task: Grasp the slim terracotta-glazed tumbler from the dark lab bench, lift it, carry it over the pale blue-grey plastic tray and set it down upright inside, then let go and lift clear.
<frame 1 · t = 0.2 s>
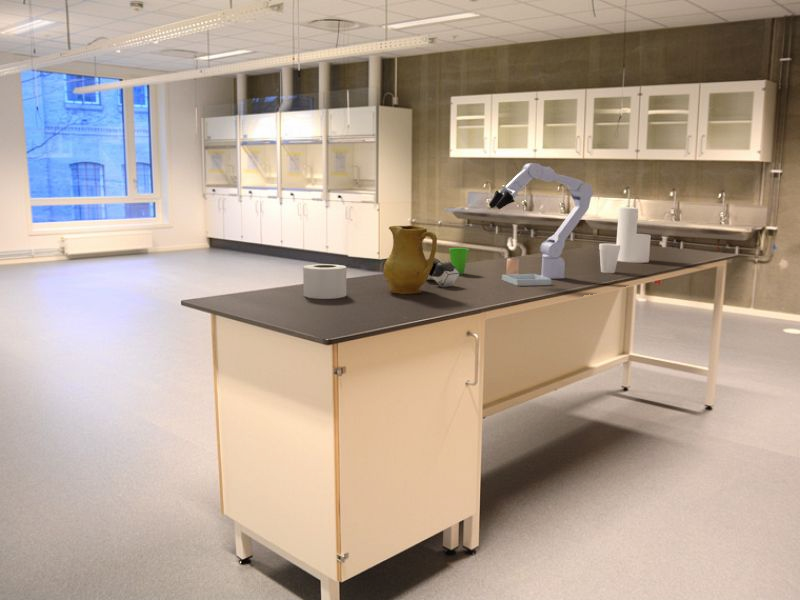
hand: (493, 207, 310), 31 cm above the worktop, tool tilted 45°, fingers open, 7 cm apart
cup: (458, 273, 330), on the worktop
foam cup: (607, 272, 345), on the worktop
pitcher: (407, 292, 277), on the worktop
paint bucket: (438, 283, 301), on the worktop
tray: (525, 282, 307), on the worktop
tumbler: (512, 277, 322), on the worktop
white toilet paper roll: (324, 296, 266), on the worktop
white l-shaped piece: (631, 260, 394), on the worktop
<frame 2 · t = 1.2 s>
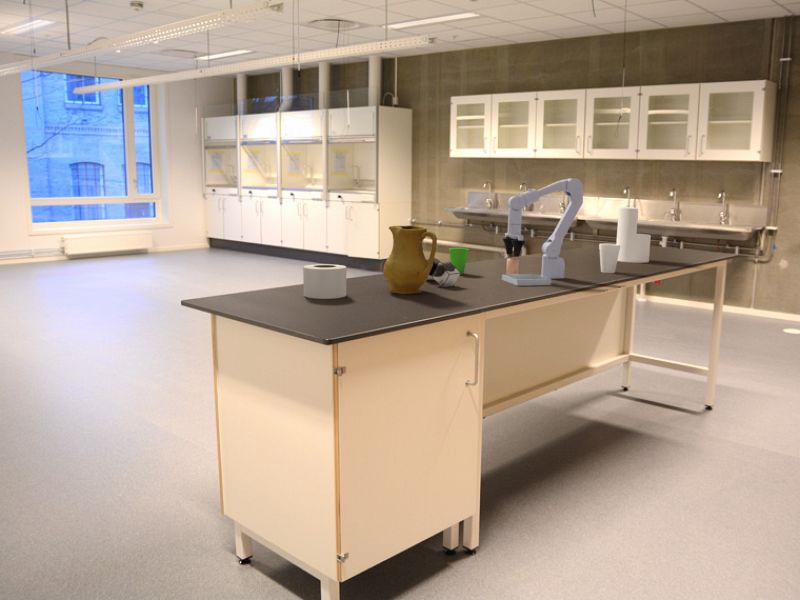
hand: (512, 255, 321), 9 cm above the worktop, tool pointing down, fingers open, 7 cm apart
nothing on the worktop moved.
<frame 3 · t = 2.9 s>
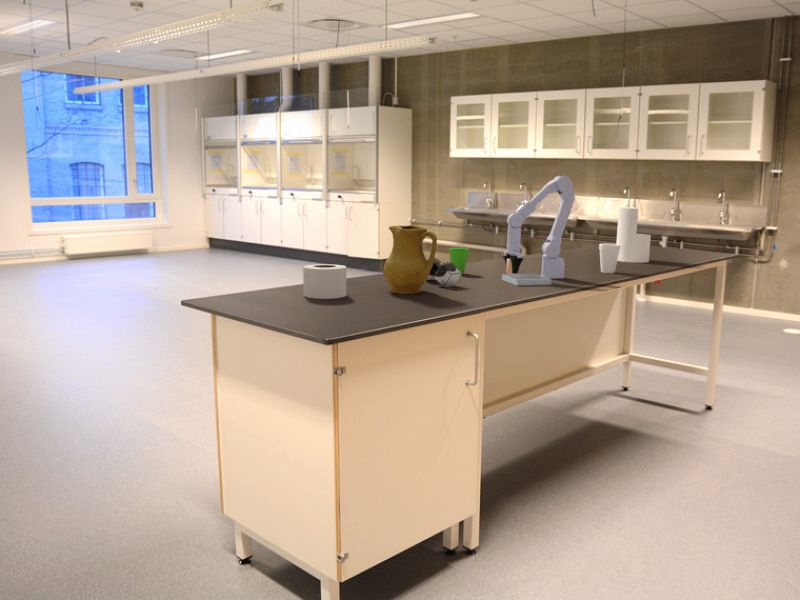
hand: (512, 272, 322), 2 cm above the worktop, tool pointing down, fingers closed on tumbler, 5 cm apart
tumbler: (512, 277, 322), on the worktop, touching gripper
everything else where it was.
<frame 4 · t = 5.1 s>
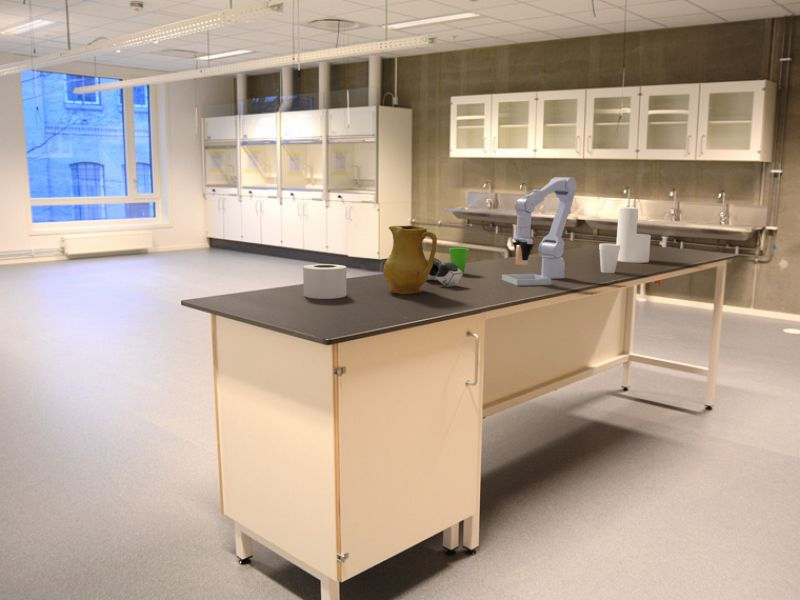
hand: (522, 259, 310), 9 cm above the worktop, tool pointing down, fingers closed on tumbler, 5 cm apart
tumbler: (521, 264, 311), point 7 cm above the worktop, touching gripper
when the fingers open (4 cm above the worktop, at t = 7.5 s): tumbler drops 2 cm, resting on tray.
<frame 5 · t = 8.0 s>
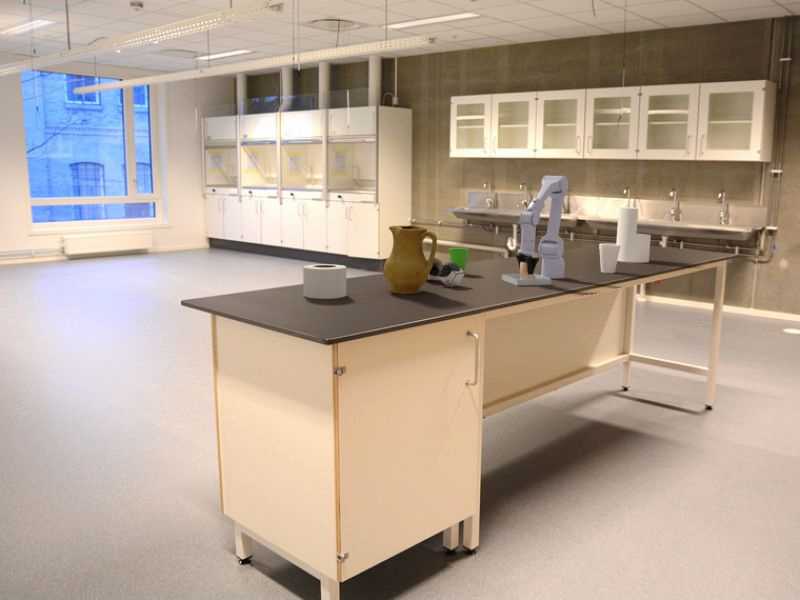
hand: (526, 273, 306), 4 cm above the worktop, tool pointing down, fingers open, 7 cm apart
tumbler: (525, 281, 307), resting on tray
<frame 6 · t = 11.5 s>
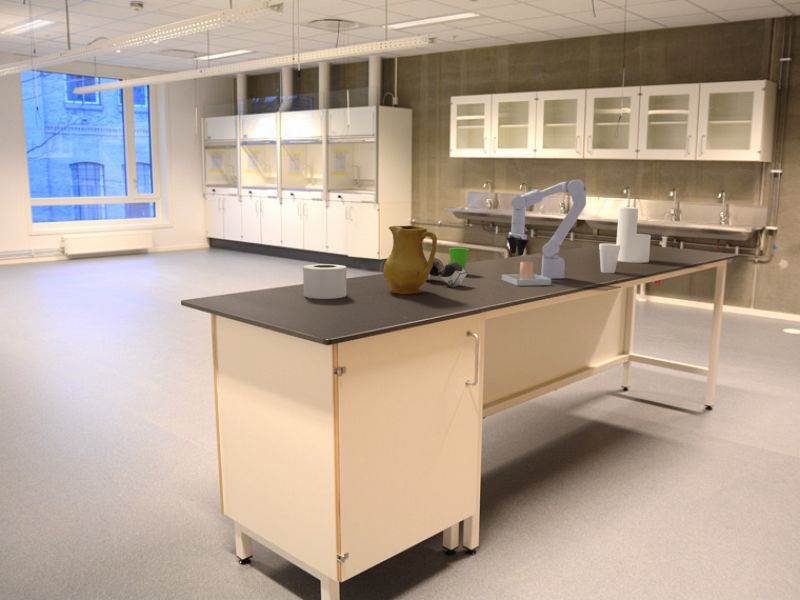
hand: (516, 254, 327), 9 cm above the worktop, tool pointing down, fingers open, 7 cm apart
at the end: tumbler inside the target area on the tray (0.1 cm from its centre), point 0.4 cm above the tray's base; tumbler tilted 0°; the gripper is holding nothing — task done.
